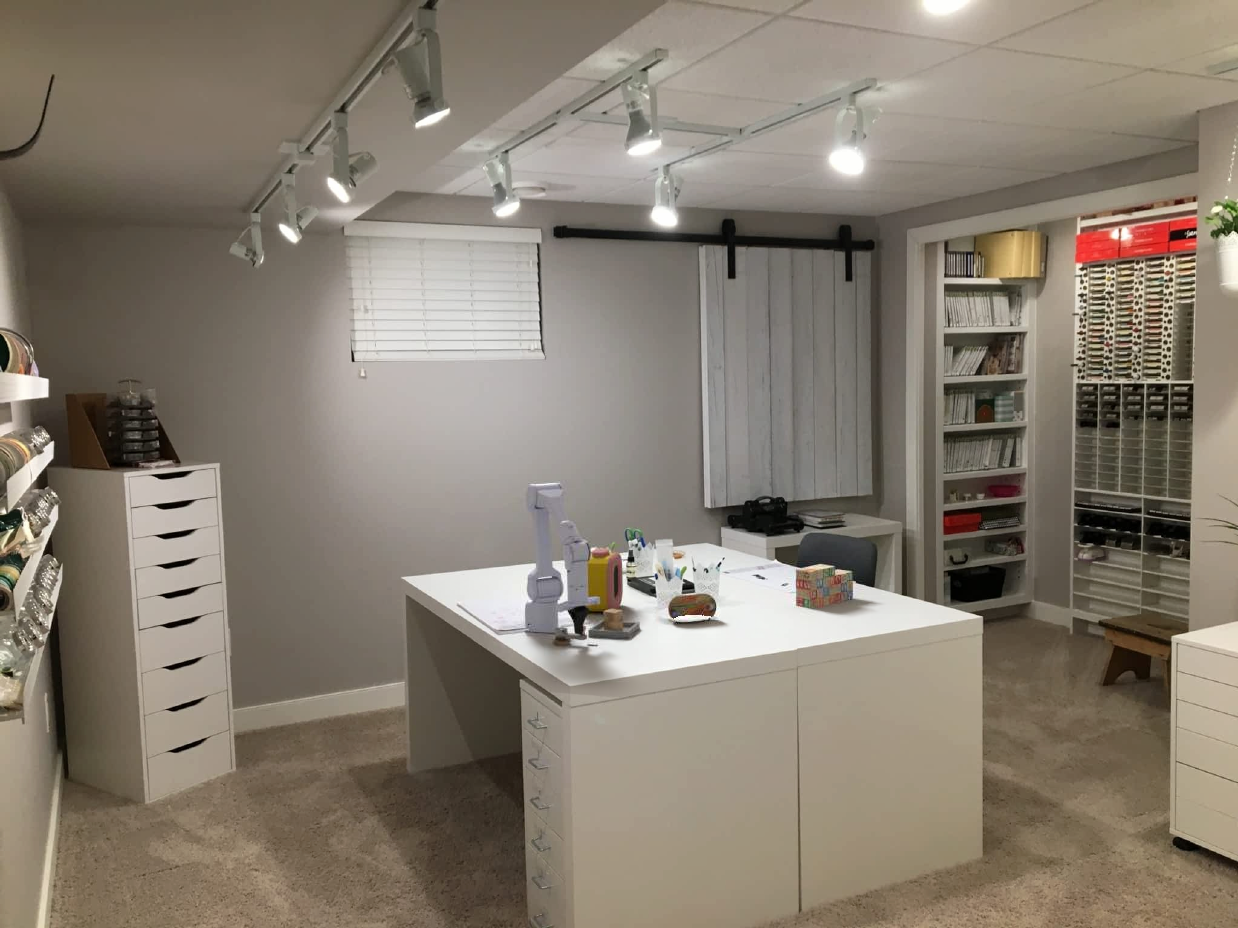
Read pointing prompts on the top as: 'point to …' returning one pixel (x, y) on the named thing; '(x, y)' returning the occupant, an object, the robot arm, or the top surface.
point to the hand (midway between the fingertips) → (578, 633)
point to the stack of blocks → (822, 585)
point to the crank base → (563, 642)
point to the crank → (569, 634)
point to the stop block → (613, 620)
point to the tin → (692, 605)
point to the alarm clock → (605, 579)
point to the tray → (627, 632)
